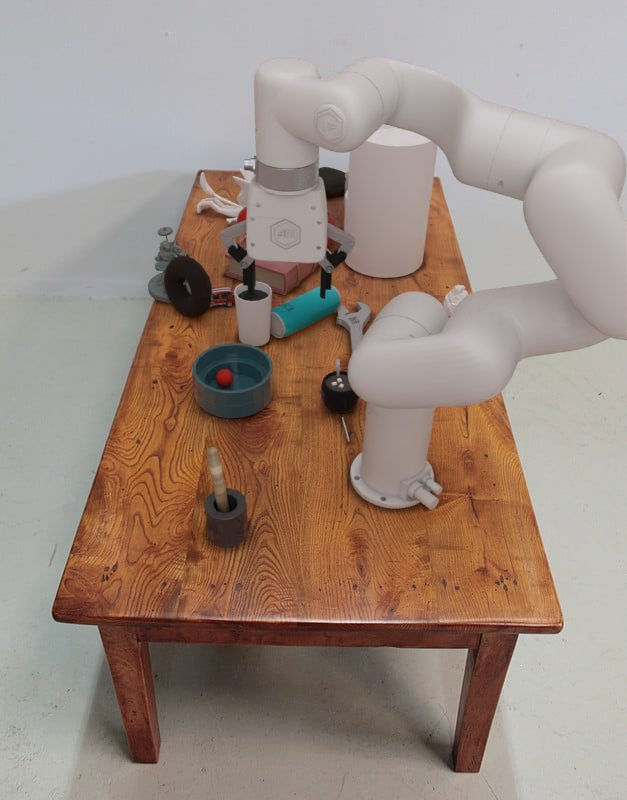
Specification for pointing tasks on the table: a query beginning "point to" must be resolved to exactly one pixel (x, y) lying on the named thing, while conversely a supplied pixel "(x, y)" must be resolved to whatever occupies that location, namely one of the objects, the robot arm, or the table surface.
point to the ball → (224, 378)
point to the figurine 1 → (164, 266)
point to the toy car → (226, 296)
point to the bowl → (247, 387)
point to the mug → (338, 392)
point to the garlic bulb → (454, 298)
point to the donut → (197, 282)
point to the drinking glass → (253, 314)
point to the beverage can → (303, 311)
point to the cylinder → (389, 202)
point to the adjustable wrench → (354, 322)
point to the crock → (227, 520)
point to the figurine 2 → (219, 206)
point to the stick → (218, 479)
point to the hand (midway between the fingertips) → (287, 291)
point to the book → (273, 272)
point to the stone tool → (333, 181)
